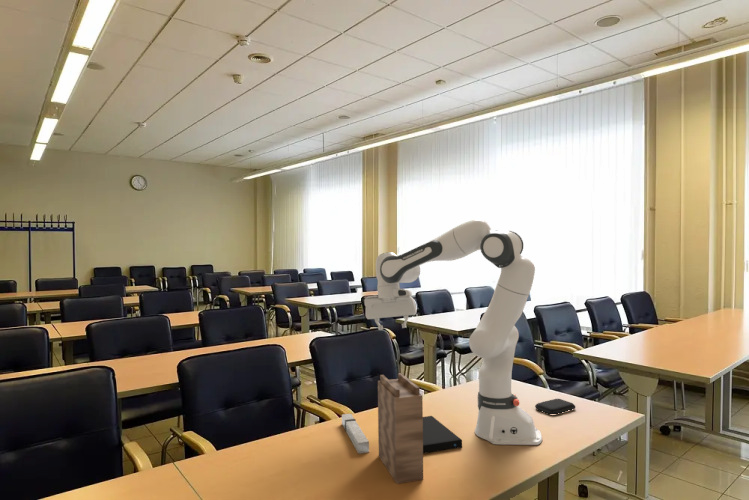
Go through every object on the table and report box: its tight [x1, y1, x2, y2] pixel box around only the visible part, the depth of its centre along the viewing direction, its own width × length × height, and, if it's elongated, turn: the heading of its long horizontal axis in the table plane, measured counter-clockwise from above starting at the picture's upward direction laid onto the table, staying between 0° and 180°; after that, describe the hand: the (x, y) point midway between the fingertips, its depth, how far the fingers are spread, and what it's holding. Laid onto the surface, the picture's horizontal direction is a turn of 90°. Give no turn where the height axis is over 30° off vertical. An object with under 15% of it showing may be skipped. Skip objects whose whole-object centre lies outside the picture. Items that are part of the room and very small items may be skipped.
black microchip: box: [534, 398, 576, 415], centre depth 190 cm, size 11×3×15 cm
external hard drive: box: [423, 415, 463, 455], centre depth 164 cm, size 14×23×3 cm, turn 18°
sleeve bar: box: [341, 413, 370, 454], centre depth 164 cm, size 26×4×4 cm, turn 16°
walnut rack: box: [377, 372, 424, 485], centre depth 141 cm, size 18×8×26 cm, turn 16°
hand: (392, 328), depth 185 cm, fingers open, 8 cm apart
